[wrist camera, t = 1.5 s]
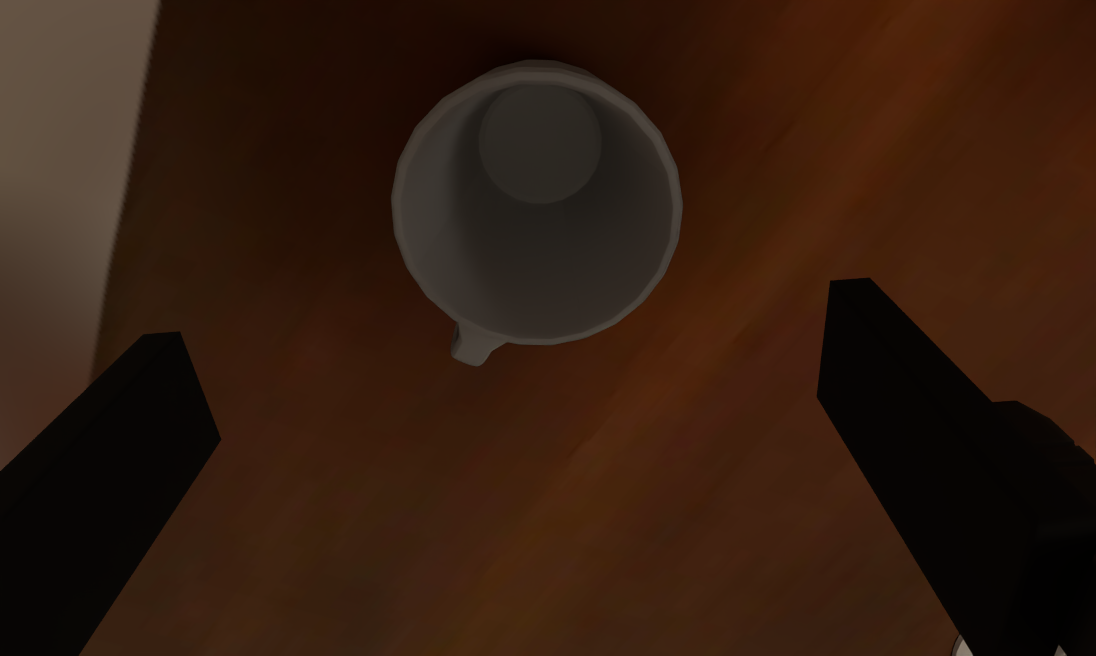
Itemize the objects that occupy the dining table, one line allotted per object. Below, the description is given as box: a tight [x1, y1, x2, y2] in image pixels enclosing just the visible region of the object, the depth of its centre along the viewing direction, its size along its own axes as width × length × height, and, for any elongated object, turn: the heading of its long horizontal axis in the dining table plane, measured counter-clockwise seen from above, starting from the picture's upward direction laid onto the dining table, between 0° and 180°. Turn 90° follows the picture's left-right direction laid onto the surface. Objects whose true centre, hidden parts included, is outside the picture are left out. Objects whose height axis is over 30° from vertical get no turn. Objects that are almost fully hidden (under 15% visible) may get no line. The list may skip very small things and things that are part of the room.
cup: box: [391, 60, 683, 366], centre depth 22 cm, size 8×10×8 cm
